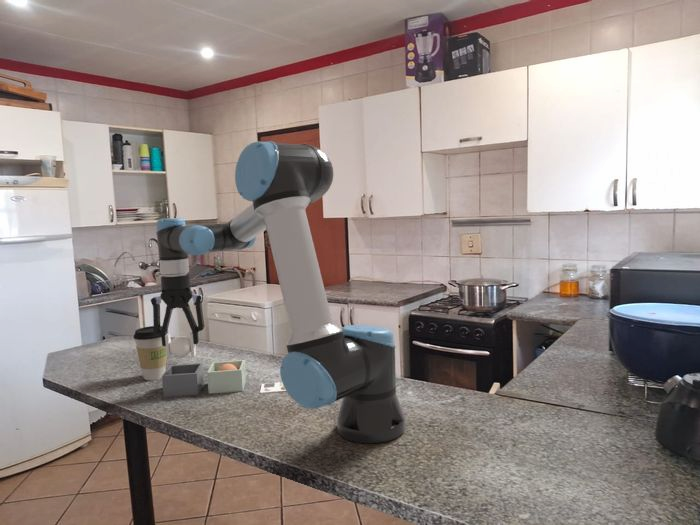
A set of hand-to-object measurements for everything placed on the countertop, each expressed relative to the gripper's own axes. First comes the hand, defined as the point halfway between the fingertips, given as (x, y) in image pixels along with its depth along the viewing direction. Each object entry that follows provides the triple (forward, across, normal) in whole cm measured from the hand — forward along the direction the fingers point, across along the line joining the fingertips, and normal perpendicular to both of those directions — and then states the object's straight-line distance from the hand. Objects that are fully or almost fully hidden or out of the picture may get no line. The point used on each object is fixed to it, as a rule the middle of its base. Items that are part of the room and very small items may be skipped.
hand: (181, 356), depth 142 cm
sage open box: (+10, -12, 0) cm, 16 cm away
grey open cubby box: (+10, 0, 0) cm, 10 cm away
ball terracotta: (+6, -12, 0) cm, 14 cm away
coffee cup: (+10, +12, -14) cm, 21 cm away
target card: (+10, -26, +4) cm, 28 cm away
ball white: (-3, 0, 0) cm, 3 cm away
